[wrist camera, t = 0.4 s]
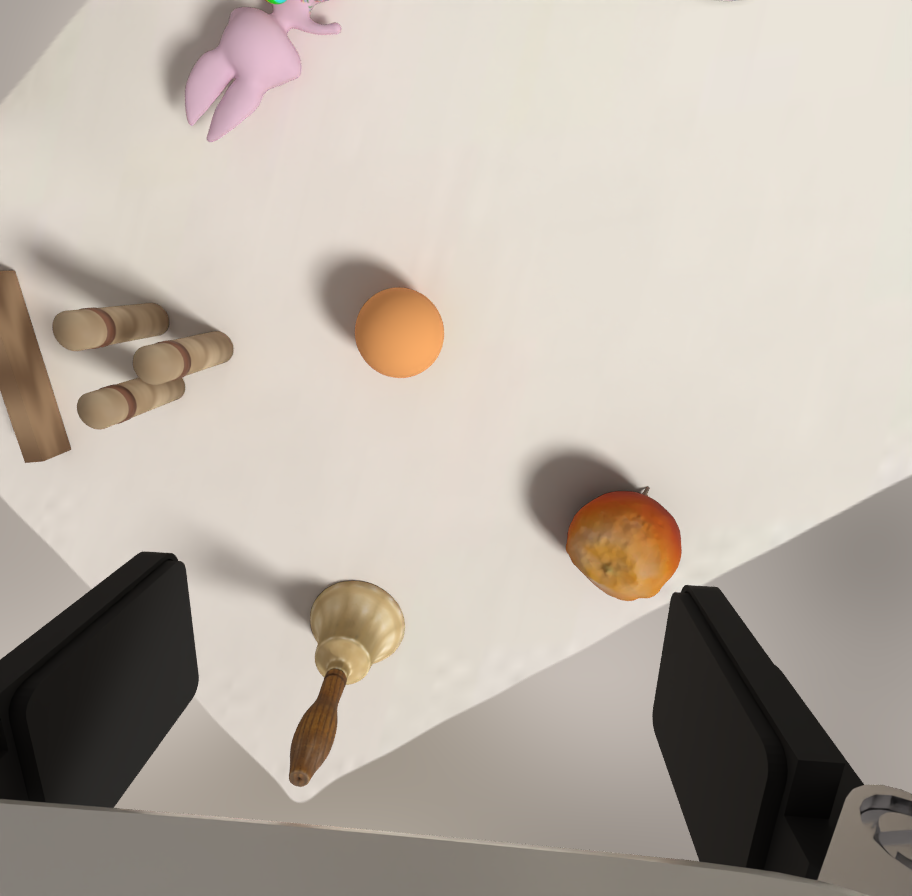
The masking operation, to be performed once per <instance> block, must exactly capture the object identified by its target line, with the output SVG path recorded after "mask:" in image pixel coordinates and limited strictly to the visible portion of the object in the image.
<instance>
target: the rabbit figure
mask: <svg viewBox="0 0 912 896" xmlns="http://www.w3.org/2000/svg"><path fill="white" fill-rule="evenodd" d="M266 1H267V2H269V3H271V4H272V6H273V12H272V13H271V14H267V13H265V12H264V11H262V10H260V9H256V8H251V7H240V8H236V9H234V10H233V11H232V12H231V14H230V18H229V22H228V25H227V26H226V28H225V30H224V32H223V34H222V37H221V40H220V43H219V45H218V47H217V48H215V49H213V50H211V51H208V52H206V53H204V54H203V55H202V56H201V57H200V58H199V59H198V60H197V62H196V63H195V65H194V67H193V68H192V71H191V73H190V75H189V77H188V80H187V83H186V89H185V107H186V115H187V120H188V123H189V124H190V125H191V126H192V125H194V124H195V123H196V121H197V120H198V119H199V118H200V117H201V116H202V115H203V114H204V113H205V112H206V110H207V109H208V108H209V107H210V105H211V104H212V103H213V102H214V101H215V99H216V98H217V97H218V96H219V95H220V93H221V92H222V91H223V90H224V88H225V87H226V86H227V84H228V83H229V82H230V81H231V80H232V79H233V78H235V80H234V82H233V83H232V84H231V85H230V86H229V88H228V89H227V91H226V93H225V94H224V96H223V98H222V100H221V101H220V103H219V104H218V106H217V107H216V109H215V112H214V114H213V118H212V121H211V125H210V129H209V132H208V135H207V140H208V141H209V142H213V141H216V140H218V139H220V138H221V137H222V136H224V135H225V134H227V133H228V132H229V131H231V130H232V129H234V128H235V127H236V126H237V125H239V124H240V123H241V122H242V121H243V120H244V119H246V118H247V117H248V116H249V115H251V114H252V113H253V112H254V111H255V110H256V109H257V107H258V106H259V104H260V102H261V100H262V97H263V95H264V94H265V92H266V91H268V90H269V89H272V88H274V87H277V86H280V85H282V84H284V83H287V82H289V81H291V80H294V79H296V78H298V77H299V76H300V74H301V60H300V56H299V54H298V52H297V50H296V48H295V47H294V46H293V44H292V43H291V41H290V40H289V38H288V36H287V33H288V31H289V30H290V29H292V28H296V29H299V30H302V31H304V32H308V33H313V34H318V35H331V34H339V33H340V32H341V26H340V24H338V23H331V24H328V25H322V24H318V23H316V22H314V21H312V20H311V18H310V13H311V10H312V9H313V7H314V6H315V5H316V4H318V3H321V2H325V1H328V0H266Z"/></svg>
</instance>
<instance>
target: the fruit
mask: <svg viewBox="0 0 912 896" xmlns="http://www.w3.org/2000/svg"><path fill="white" fill-rule="evenodd" d="M649 489H650V488H648V487H646V489H645V490H644V492H643V493H642V494H640V493H637V492H632V491H615V492H610V493H606V494H603V495H601V496H599V497H597V498H596V499H594V500H592V501H591V502H589V503H588V504H586V505H585V506H583V507H582V508H581V509H580V510H579V511H578V512H577V513H576V515H575V516H574V518H573V520H572V522H571V524H570V526H569V530H568V536H567V544H566V551H567V553H568V554H569V556H570V558H571V560H572V562H573V564H574V565H575V566H576V567H577V568H578V569H579V570H580V571H581V572H582V573H583V574H584V575H585V576H586V577H587V578H588V579H589V580H590V581H591V582H592V583H593V584H594V585H595V586H597V587H598V588H599V589H601V590H602V591H603V592H605V593H606V594H608V595H610V596H612V597H615V598H617V599H620V600H625V601H633V600H636V599H638V598H650V597H652V596H655V595H656V594H657V593H658V592H659V591H660V589H661V587H662V586H663V585H664V584H665V583H666V582H667V581H668V580H669V579H670V578H671V577H672V575H673V574H674V573H675V571H676V569H677V568H678V565H679V562H680V558H681V551H682V550H681V536H680V530H679V527H678V525H677V523H676V521H675V519H674V518H673V516H672V515H671V514H670V513H669V512H668V511H667V510H666V509H665V508H664V507H663V506H661V505H660V504H659V503H658V502H657V501H655V500H654V499H652V498H650V497H648V495H647V493H648V491H649Z"/></svg>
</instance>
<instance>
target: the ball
mask: <svg viewBox="0 0 912 896" xmlns="http://www.w3.org/2000/svg"><path fill="white" fill-rule="evenodd" d="M355 339H356V344H357V347H358V350H359V352H360V354H361V356H362V357H363V359H364V360H365V361H366V362H367V364H368V365H370V366H371V367H372V368H373V369H374V370H376V371H377V372H379V373H381V374H383V375H386V376H390V377H395V378H406V377H411V376H415V375H417V374H419V373H421V372H423V371H424V370H426V369H427V368H428V367H430V366H431V365H432V364H433V363H434V361H435V360H436V358H437V357H438V355H439V353H440V351H441V348H442V345H443V340H444V327H443V322H442V319H441V316H440V314H439V312H438V310H437V308H436V307H435V306H434V304H433V303H432V302H431V301H430V300H429V299H428V298H427V297H425V296H424V295H423V294H421V293H419V292H417V291H414V290H412V289H407V288H400V287H399V288H389V289H386V290H383V291H381V292H378V293H377V294H375V295H374V296H372V297H371V298H370V299H369V300H368V301H367V302H366V303H365V304H364V305H363V307H362V308H361V310H360V312H359V314H358V317H357V320H356V325H355Z"/></svg>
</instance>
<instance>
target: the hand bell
mask: <svg viewBox="0 0 912 896" xmlns="http://www.w3.org/2000/svg"><path fill="white" fill-rule="evenodd" d="M310 623H311V629H312V632H313V635H314V637H315V639H316V641H317V643H318V645H317V649H316V652H315V664H316V666H317V669H318V670H319V672H320V673H321V674H322V676H323V677H324V681H323V683H322V686H321V689H320V693H319V695H318V698H317V699H316V701H315V702H314V703H313V704H312V705H311V707H310V708H309V709H308V710H307V711H306V713H305V714H304V715H303V717H302V719H301V721H300V722H299V724H298V727H297V729H296V731H295V734H294V737H293V740H292V744H291V751H290V772H289V780H290V782H291V783H292V784H293V785H295V786H299V787H302V786H305V785H307V784H308V783H309V781H310V779H311V778H312V776H313V775H314V773H315V772H316V771H317V770H318V768H319V767H320V766H321V765H322V763H323V762H324V761H325V759H326V758H327V756H328V754H329V752H330V750H331V747H332V744H333V742H334V738H335V734H336V729H337V706H338V703H339V700H340V697H341V695H342V693H343V690H344V687H345V685H349V684H353V683H356V682H358V681H360V680H361V679H363V678H364V677H365V676H366V675H367V673H368V671H369V669H370V667H371V665H372V664H374V663H377V662H380V661H382V660H384V659H386V658H387V657H389V656H390V655H391V654H392V653H394V652H395V651H396V649H397V648H398V647H399V645H400V643H401V641H402V639H403V636H404V631H405V623H404V617H403V614H402V611H401V609H400V607H399V605H398V603H397V602H396V601H395V600H394V599H393V597H392V596H390V595H389V594H388V593H387V592H386V591H384V590H383V589H381V588H379V587H377V586H375V585H373V584H370V583H366V582H361V581H345V582H340V583H337V584H334V585H332V586H330V587H328V588H327V589H325V590H324V591H323V592H322V593H321V594H320V595H319V596H318V597H317V599H316V600H315V602H314V604H313V606H312V609H311V614H310Z"/></svg>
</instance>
